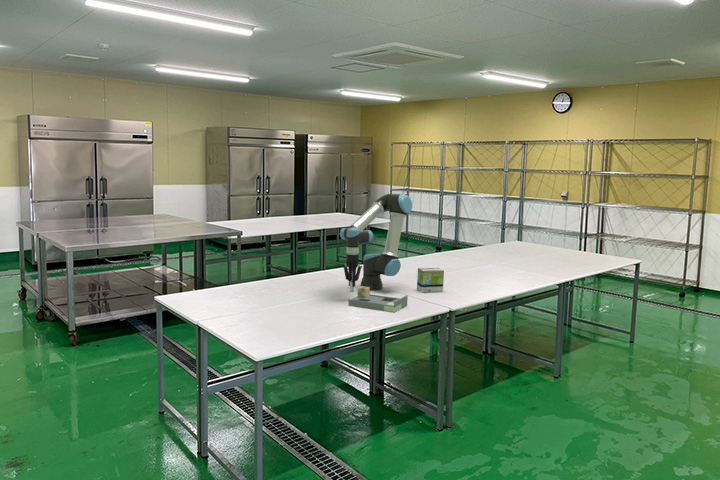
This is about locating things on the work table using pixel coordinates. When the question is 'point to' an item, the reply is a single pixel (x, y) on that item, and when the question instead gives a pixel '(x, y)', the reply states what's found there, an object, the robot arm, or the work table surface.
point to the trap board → (380, 302)
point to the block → (363, 291)
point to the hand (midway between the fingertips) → (351, 291)
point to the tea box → (430, 279)
